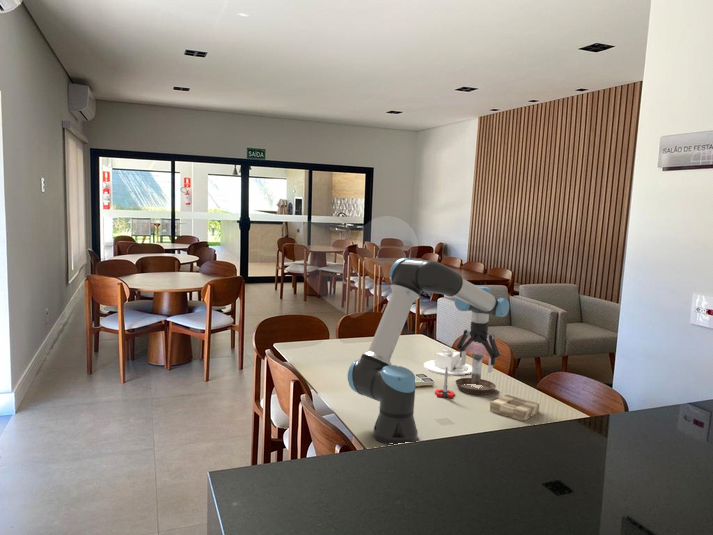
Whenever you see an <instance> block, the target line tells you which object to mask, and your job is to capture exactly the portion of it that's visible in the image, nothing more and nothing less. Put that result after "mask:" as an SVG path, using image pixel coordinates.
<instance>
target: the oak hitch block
mask: <svg viewBox="0 0 713 535" xmlns="http://www.w3.org/2000/svg"><path fill="white" fill-rule="evenodd" d="M539 409H540V403H537V402H535V401H531V400H528V399H523V398H520V397H516V396H512V395H510V394H505V395H503V396H501V397H499V398H497V399H496V398H495V399H494V400H492V401H490V404H489V412H493V413H495V414H498V413H499V415H501V414H503V416H505V415H507V416H506V417H508V416H509V418H511V417H513V418H512V419H515V418H516V419H515V420H518V419H520V420H519V421H521V420H524V421H526V420H527V419H526V418H528V417H529V418H531V417H532V416H531V415H533V414H535V413H536V414H538V413H539V412H540V410H539ZM538 411H539V412H538ZM537 412H538V413H537ZM536 414H535V415H536ZM530 416H531V417H530ZM533 416H534V415H533ZM529 418H528V419H529ZM525 419H526V420H525Z"/></svg>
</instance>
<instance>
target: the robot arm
mask: <svg viewBox="0 0 713 535" xmlns="http://www.w3.org/2000/svg"><path fill="white" fill-rule="evenodd" d="M389 276H390V277H389V282H390V283H391V284H390V290H391V292H392V293H391V295H390V297H389V299H388V301H387V305H386V306H385V309H384V312H383V314H382V316H381V319H380V321H379V323H378V326H377V329H376V330H375V334H374V336H373V338H372V340H371V343H370V346H369V348H368V350H367V351H366V352H363V353H362V354H361V356H360V358H359V359H356V360H355V361H353V362H351V364H350V366H349V367H348V371H347V382H348V385H349V387H350V389H351V390H352V391H353V392H355V393H357V394H359V395H361V396H363V397H364V396H365V397H367V398H369V399H372V400H375V401H376V402H379V413H378V415H377V418H376V421H375V424H374V426H373V431H372V432H373V433H372V435H373V438H374V439H375V440H376V439H377V440H376V441H378V442H380V443H382V442H383V444H385V443H387V444H386V445H389V446H390V444H389V443H393V444H398V443H405V442H413V441H415V442H417V440H418V434H419V432H418V429H417V425H416V421H415V416H414V414H415V412H414V411H415V410H414V409H415V398H416V388H417V387H416V385H417V384H416V375H415V374H414V372H413V371H411V370H410V369H409V368H407V367H404V366H401V365H396V364H394V365H393V364H392V362H391V358H392V357H393V356H392V355H393V354H394V351H395V349H396V346H397V343H398V342H399V338H400V337H401V334H402V331H403V329H404V326H405V323H406V321H407V319H408V316H409V314H410V311H411V309H412V307H413V303H414V301H417V300H418V299H420V298H421V295H422V293H423V292H424V293H431V294H441V295H444V296H446V297H451V298H452V297H454V307H455V308H456V309H457V310H458V311H460V312H467V311H468V312H471V317H470V320H471V321H470V330H469V329H464V330H463V335H462V336H461V339H460V340H459V342H458V344H457V346H456V349H458V350H459V352H460V358H461V366H463V365H465V363H466V362H467V361H466V359H467V350H466V349H467V348H468V347H469V346H470V345H471V344H472V343H473V342H474V343H478V344H482V345H483V346H484V348H485V350H486V352H487V353H488V355H489V356H490V357H488V368H487V373H488V374H489V373H493V369H494V365H495V364H496V358H499V357H500V356H501V355H500V351H499V348H498V346H497V342H496V341H495V335H494V333H493V334H489V333H488V331H489V323H488V322H489V318H490V316H495V317H501V318H503V317H505V316H507V315H508V313H509V310H510V302H509V300H508V299H506V298H503V297H497V296H495V295H493V294H491V288H490V287H488V286H481V285H479V286H477V285H475V284H474V283H472V282H470V281H468V280H466V279H464V278H463V276H462V274H460V273H459V272H457V271H456V270H454V269H452V268H451V267H449V266H446V265H445V264H443V263H440V262H438V261H435V260H427V259H420V258H419V259H418V258H413V257H402V258H399V259H397V260H396V261H395V262H394V263H393V264H392V265H391V268H390V270H389ZM468 336H470V337H469V339H468V340H467V338H468ZM466 340H467V341H466ZM465 341H466V342H465ZM489 343H490V344H489ZM466 364H467V363H466Z"/></svg>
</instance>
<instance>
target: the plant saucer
mask: <svg viewBox="0 0 713 535" xmlns="http://www.w3.org/2000/svg"><path fill="white" fill-rule="evenodd" d="M454 382H455V384H456V386H457V388H458V389H459V390H460V391H462V392H464V391H465V392H464V393H467V392H468V394H471V393H472V394H471V395H488V393H489V394H491V393H492V392H493V391H494V390H495V389H496V388H497V385H496V384H495V383H493V382H492V381H489V380H486V379H482V378H481V381H480V384H479V385H482V386H483V387H482V386H481V387H482V388H481V387H480V388H479V389H478V388H475V387H473V386H472V387H471V385H467V384H472V383H471V377H462V378H458V379H456V380H455V381H454ZM464 384H465V385H464Z"/></svg>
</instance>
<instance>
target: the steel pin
mask: <svg viewBox="0 0 713 535" xmlns="http://www.w3.org/2000/svg"><path fill="white" fill-rule="evenodd" d="M471 357H472V365H471V366H472V373H471V377H470V378H471V383H472V384H476V385H479V384H480V381H481V379H482V378H481V377H482V367H483V365H482V364H483V359H484V357H485V355H484V354H482V353H480V352H479V353H477V352H474V353H473V352H472V353H471Z"/></svg>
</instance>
